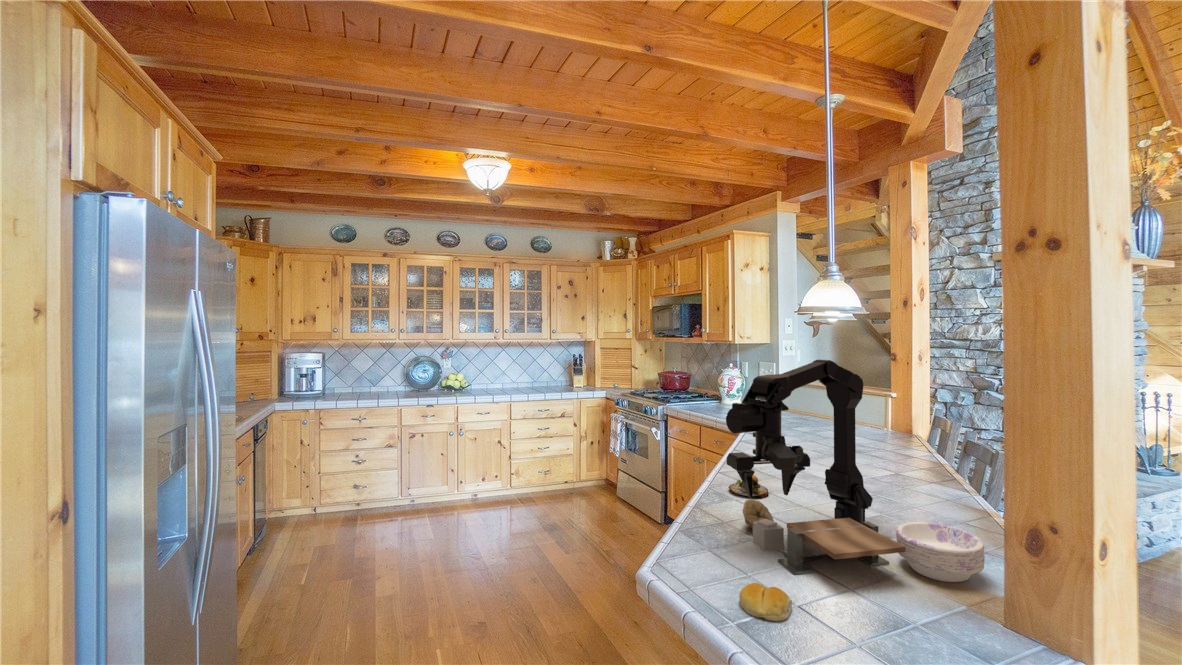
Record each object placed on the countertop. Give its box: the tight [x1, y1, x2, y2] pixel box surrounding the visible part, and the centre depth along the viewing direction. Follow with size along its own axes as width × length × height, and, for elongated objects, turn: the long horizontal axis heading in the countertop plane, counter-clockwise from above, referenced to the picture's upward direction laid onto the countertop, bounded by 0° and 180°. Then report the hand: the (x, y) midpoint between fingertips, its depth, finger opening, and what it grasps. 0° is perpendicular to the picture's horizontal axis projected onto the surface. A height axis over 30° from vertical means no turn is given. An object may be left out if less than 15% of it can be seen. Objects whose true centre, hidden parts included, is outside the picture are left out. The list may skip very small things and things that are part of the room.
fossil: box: [742, 498, 775, 530], centre depth 129 cm, size 9×4×10 cm
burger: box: [728, 469, 770, 500], centre depth 157 cm, size 12×12×8 cm
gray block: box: [752, 519, 785, 552], centre depth 119 cm, size 5×5×6 cm
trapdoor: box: [786, 518, 906, 560], centre depth 107 cm, size 16×16×6 cm
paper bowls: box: [895, 521, 986, 583], centre depth 106 cm, size 15×15×8 cm
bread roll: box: [738, 582, 793, 622], centre depth 92 cm, size 8×9×4 cm
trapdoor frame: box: [777, 520, 890, 576], centre depth 111 cm, size 23×8×8 cm, turn 102°
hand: (768, 496), depth 119 cm, fingers open, 9 cm apart
